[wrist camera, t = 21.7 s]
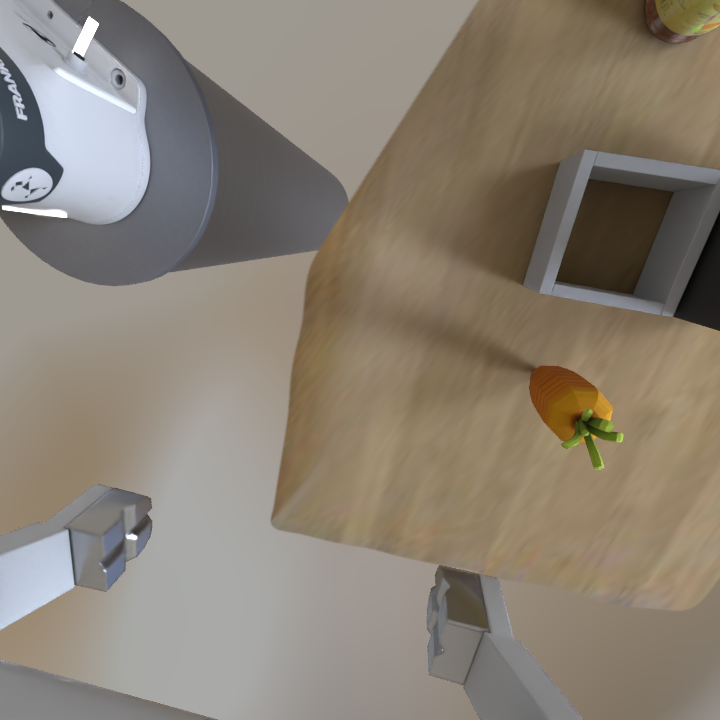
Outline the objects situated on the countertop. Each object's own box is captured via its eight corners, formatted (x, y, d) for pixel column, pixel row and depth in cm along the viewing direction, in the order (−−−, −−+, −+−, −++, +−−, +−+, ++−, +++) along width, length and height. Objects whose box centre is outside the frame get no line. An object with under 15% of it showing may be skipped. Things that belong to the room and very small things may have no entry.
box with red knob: (522, 285, 37) (613, 327, 20) (560, 161, 33) (709, 85, 17) (710, 319, 36) (973, 393, 19) (770, 194, 32) (1160, 147, 15)
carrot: (546, 400, 40) (619, 489, 26) (503, 381, 40) (553, 460, 26) (573, 360, 39) (666, 431, 24) (528, 340, 39) (595, 400, 24)
